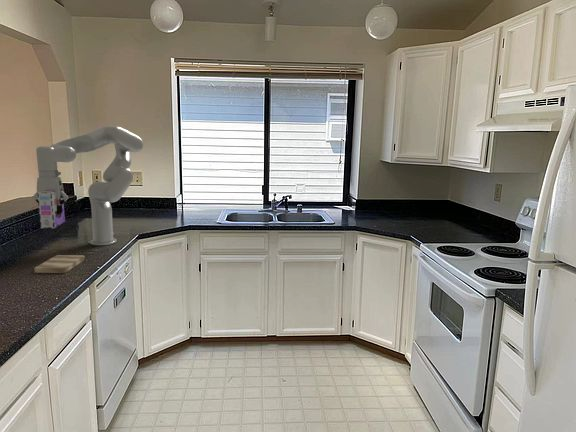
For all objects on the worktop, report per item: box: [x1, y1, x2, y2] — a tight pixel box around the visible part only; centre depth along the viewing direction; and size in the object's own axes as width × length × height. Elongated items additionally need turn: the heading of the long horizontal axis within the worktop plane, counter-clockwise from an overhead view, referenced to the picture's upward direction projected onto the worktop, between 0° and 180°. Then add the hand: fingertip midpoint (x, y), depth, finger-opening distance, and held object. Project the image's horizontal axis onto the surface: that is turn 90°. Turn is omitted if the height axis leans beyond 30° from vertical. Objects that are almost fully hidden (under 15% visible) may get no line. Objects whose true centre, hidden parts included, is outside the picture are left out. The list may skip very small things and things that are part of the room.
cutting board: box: [34, 254, 85, 274], centre depth 174 cm, size 18×12×2 cm, turn 3°
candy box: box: [36, 191, 66, 229], centre depth 187 cm, size 14×6×16 cm, turn 9°
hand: (52, 213), depth 187 cm, fingers closed on candy box, 6 cm apart
